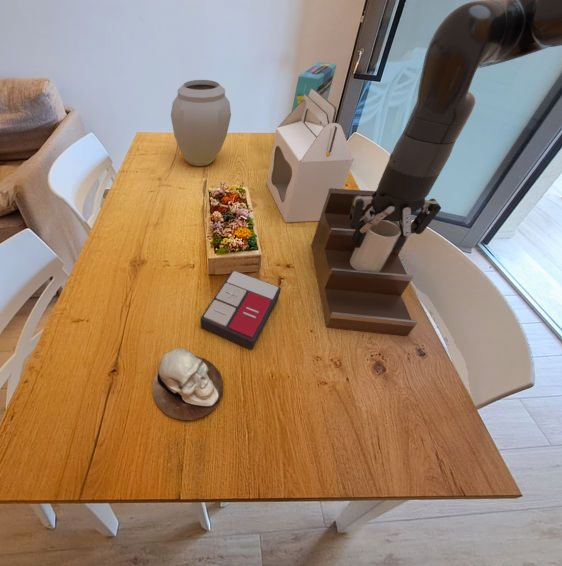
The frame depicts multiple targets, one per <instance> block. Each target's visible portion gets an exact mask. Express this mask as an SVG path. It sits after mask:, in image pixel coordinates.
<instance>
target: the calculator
mask: <svg viewBox="0 0 562 566" xmlns="http://www.w3.org/2000/svg"><path fill="white" fill-rule="evenodd" d="M281 290H282V288H281V287H280V286H278V285H275V284H273V283H270V282H267V281H264V280H262V279H258V278H256V277H253V276H250V275H248V274H245V273H242V272H239V271H237V270H231V272H230V273H229V275H228V276H227V278H226V280H224V282H223V284H222V285H221V287H220V288H219V290H218V291H217V293H216V294H215V296H214V297H213V299H212V300H211V302H210V303H209V305H208V306H207V307H206V309H205V311H204V312H203V314H202V315H201V317H200V328H201V329H203V330H205V331H207V332H210V333H211V334H214V335H216V336H219V337H221V338H223V339H225V340H228V341H229V342H232V343H234V344H236V345H239V346H240V347H242V348H245V349H248V350H250V351H251V350H253V349H254V347H255V345H256V343H257V342H258V340H259V338H260V335H261V333H262V331H263V330H264V327H265V326H266V324H267V321H268V320H269V317H270V316H271V313H272V312H273V311H274V309H275V307H276V305H277V303H278V301H279V298H280V294H281Z"/></svg>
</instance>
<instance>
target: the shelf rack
mask: <svg viewBox="0 0 562 566" xmlns="http://www.w3.org/2000/svg"><path fill="white" fill-rule="evenodd" d="M375 191H376V190H366V189H365V190H364V189H363V190H362V189H347V188H346V189H345V188H343V189H333V188H330V189H329V192H328V195H327V198H326V201H325V204H324V207H323V210H322V213H321V216H320V220H319V221H318V223H317V226H316V229H315V232H314V235H313V239H312V241H311V245H310V248H311V255H312V259H313V265H314V269H315V274H316V275H315V276H316V280H317V285H318V291H319V297H320V302H321V307H322V312H323V317H324V323H325V327H326V328H327V329H337V330H345V331H346V330H347V331H354V332H355V331H356V332H364V333H375V334H384V335H391V336H392V335H393V336H402V337H408V336H409V335H410V333H411V332H412V331H413V329H414V328H415V327H416V326H417V324H418V320H416V319H415V320H413V319H412V317H411V315H410V312H409V310H408V308H407V306H406V304H405V301H404V298H403V297H402V295H403V294H404V292H405V290H406V289H407V288H408V286H409V285H410V283H411V282H412V280H413V279H414V275H413V274H408V273H407V271H406V269H405V266H404V265H403V263H402V260H401V258H400V256H399V254H400V252H401V251H402V249H403V247H404V246H405V243H406V242H407V240H408V239H409V237H410V235H409V236H407V238H406V239H405V241H404V243H403V245H402V246H401V247H400V248H398V249H397V250H396V251H391V253H390V255H389V257H388V258H387V260H386V262H385V264H384V266H383V268H382V269H381V271H380V272H370V271H359V270H356V269H354V268H353V267H352V266H351V264H350V258H351V256H352V253H353V251H354V249H355V246H354V245H353V242H352V237H353V234H354V232H355V229H351V226H350V224H349V221H348V219H349V215H350V210H351V206H352V201H353V197H354V195H355V194H360V195H361V197H362V196H371V195H372V194H373V193H374V192H375ZM371 207H372V204H371V203H370V204H368V205H367V206H366V208H365V209H364V210H363V209H362V213H361V217H360V219H361V218H362V217H363V216H365V213H366V212H367V211H368V210H369V209H370V208H371ZM374 216H376V214H375V215H374ZM387 221H390V222H392V223H394V224H395V225H397V226H398V227H399V222H398V221H393V220H387ZM399 228H400V227H399Z"/></svg>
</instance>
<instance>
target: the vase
mask: <svg viewBox="0 0 562 566" xmlns="http://www.w3.org/2000/svg"><path fill="white" fill-rule="evenodd" d="M176 92H177V96H176V97H174V99H173V100H172V105H171V111H170V119H171V120H170V121H171V125H172V130H173V131H172V132H173V137H174V138H175V141H176V143H177V146H178V149H179V152H180V153H181V154H182V156H183V158H184V159H185V160H186V161H187V163H189V164H190V165H192V166H194V167H205V166H208V165H210V164H212V163H213V162H214V160H215V159H216V158H217V157H218V155H219V153H220V152H221V150H222V148H223V145H224V143H225V141H226V138H227V136H228V135H227V134H228V131H229V126H230V121H231V117H232V113H231V104H230V100H229V99H228V98H227V96H226V89H225V88H224V87H223V86H222V85H221V84H220V83H219V82H218V81H215V80H210V79H194V80H188V81H186V82H184V83H183V84H182V85H180V87H179V88H177V91H176Z"/></svg>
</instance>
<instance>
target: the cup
mask: <svg viewBox="0 0 562 566" xmlns="http://www.w3.org/2000/svg"><path fill="white" fill-rule="evenodd" d="M400 235H401V230H400V228H399V227H398V226H397V225H395V224H394V223H392V222H390V221H387V220H386V221H385V220H381V221H380V222H379V223H378V224H377V225H375V226H374V225H373V226H372V227H371V228H370V229H368V230H367V231H366V235H365V237H364V240H363V242H362V244H361V246H360V248H355V249H354V251H353V253H352V256H351V258H350V264H351V266H352V267H353V268H354V269H356V270H359V271H370V272H380V271H381V269H382V268H383V266H384V264H385V262H386V260H387V258H388V257H389V255H390V253H391V251H392V249H393V247H394V246H395V244H396V242H397V240H398V238H399V236H400Z"/></svg>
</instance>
